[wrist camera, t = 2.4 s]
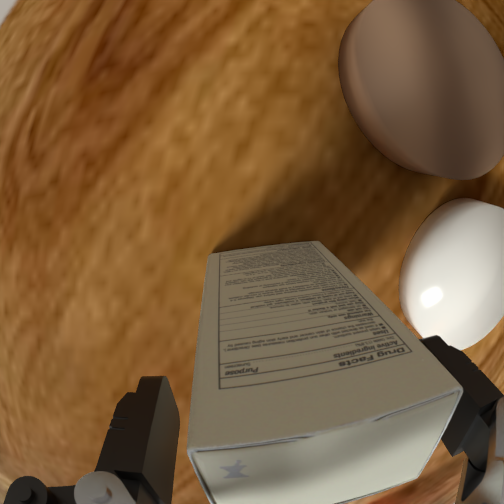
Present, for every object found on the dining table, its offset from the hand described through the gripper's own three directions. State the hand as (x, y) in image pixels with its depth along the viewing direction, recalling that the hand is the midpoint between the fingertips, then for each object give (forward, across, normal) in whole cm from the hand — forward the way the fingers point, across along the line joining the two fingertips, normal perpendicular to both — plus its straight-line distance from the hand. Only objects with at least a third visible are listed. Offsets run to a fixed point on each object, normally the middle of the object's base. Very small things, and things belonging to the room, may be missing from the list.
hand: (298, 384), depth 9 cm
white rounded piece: (+8, -13, +1) cm, 16 cm away
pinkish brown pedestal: (+8, -10, -11) cm, 17 cm away
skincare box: (+9, 0, 0) cm, 9 cm away
